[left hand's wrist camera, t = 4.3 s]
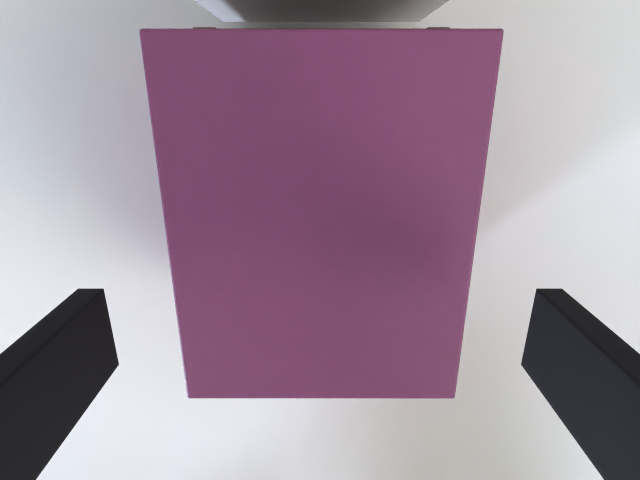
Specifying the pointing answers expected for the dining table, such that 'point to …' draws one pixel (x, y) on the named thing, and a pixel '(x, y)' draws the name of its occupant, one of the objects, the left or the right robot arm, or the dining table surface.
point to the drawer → (321, 10)
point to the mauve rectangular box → (321, 203)
